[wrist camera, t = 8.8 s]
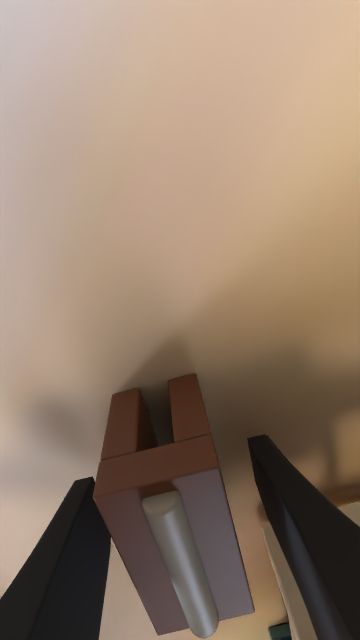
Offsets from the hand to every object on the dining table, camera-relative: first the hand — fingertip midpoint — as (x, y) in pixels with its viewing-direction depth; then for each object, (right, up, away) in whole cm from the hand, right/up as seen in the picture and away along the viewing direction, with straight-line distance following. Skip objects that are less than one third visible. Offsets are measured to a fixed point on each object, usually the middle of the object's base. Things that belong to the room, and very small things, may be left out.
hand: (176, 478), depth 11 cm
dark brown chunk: (0, +1, +1) cm, 1 cm away
